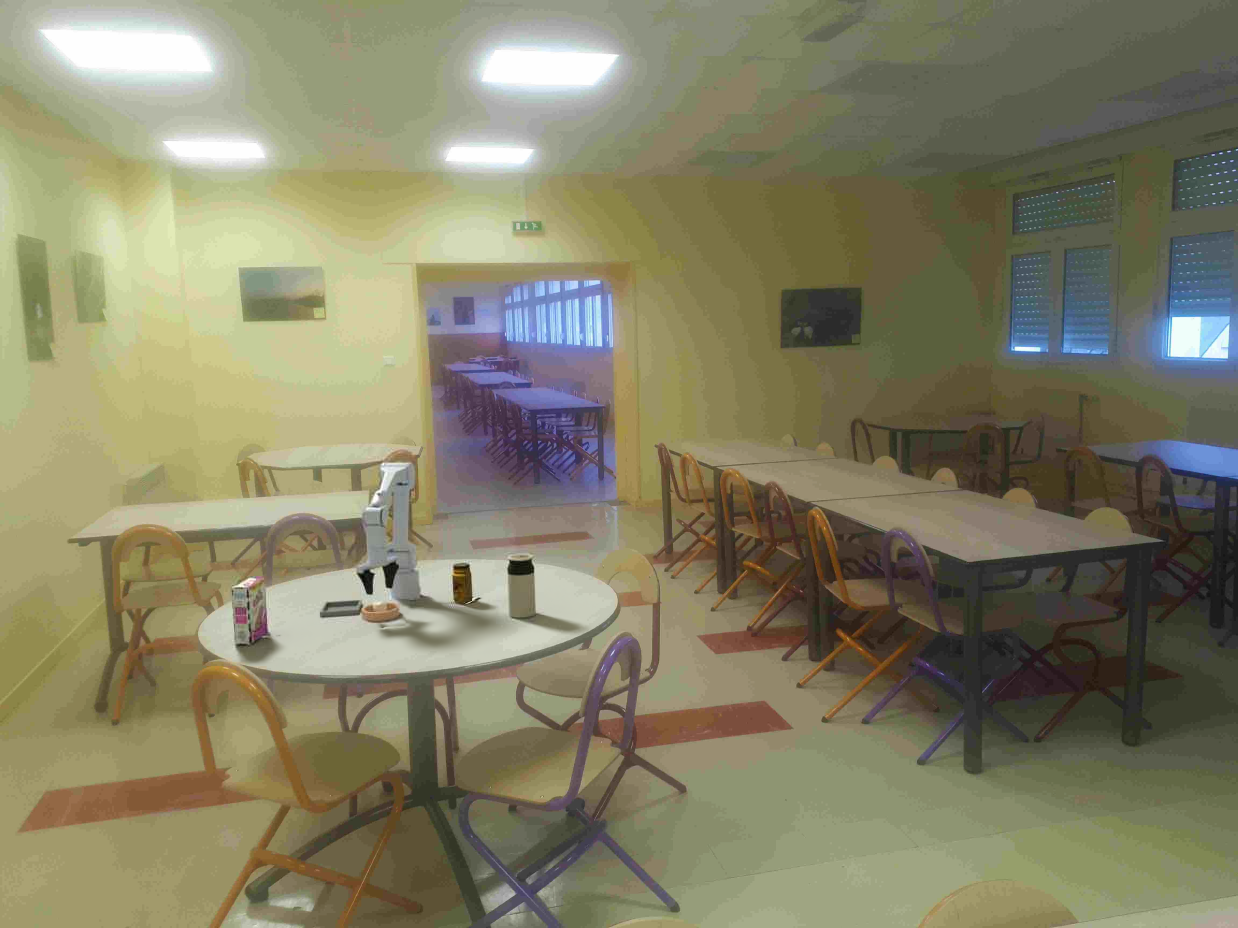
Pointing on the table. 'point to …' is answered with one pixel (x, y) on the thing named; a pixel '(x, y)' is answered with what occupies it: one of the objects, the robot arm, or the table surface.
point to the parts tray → (341, 608)
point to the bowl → (380, 613)
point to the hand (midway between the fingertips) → (379, 591)
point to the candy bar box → (249, 611)
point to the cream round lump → (380, 606)
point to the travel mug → (521, 586)
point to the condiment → (462, 583)
